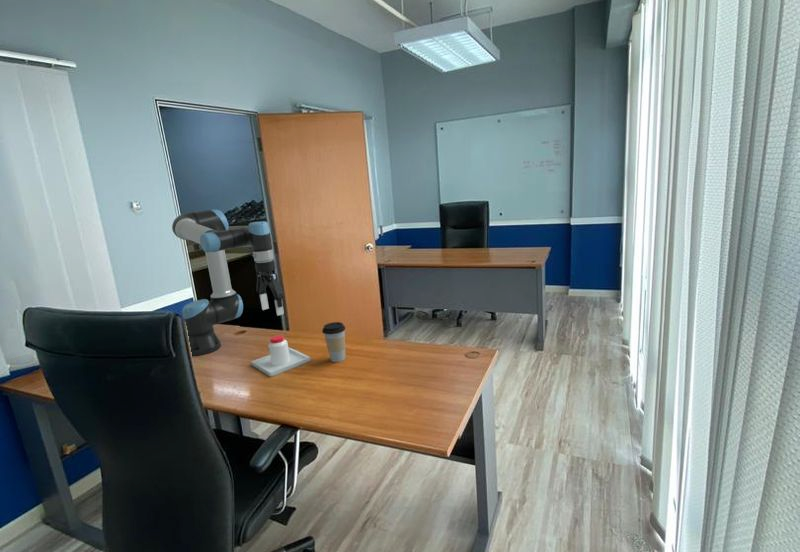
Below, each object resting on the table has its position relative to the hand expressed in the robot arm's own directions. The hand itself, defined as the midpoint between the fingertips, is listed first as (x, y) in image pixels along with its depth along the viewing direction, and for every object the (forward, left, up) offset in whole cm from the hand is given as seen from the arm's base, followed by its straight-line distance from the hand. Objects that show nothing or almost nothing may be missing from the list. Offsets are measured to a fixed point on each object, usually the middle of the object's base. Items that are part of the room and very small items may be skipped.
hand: (272, 311), depth 173 cm
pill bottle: (0, 0, -22) cm, 22 cm away
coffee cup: (+17, +17, -23) cm, 33 cm away
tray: (0, 0, -23) cm, 23 cm away
